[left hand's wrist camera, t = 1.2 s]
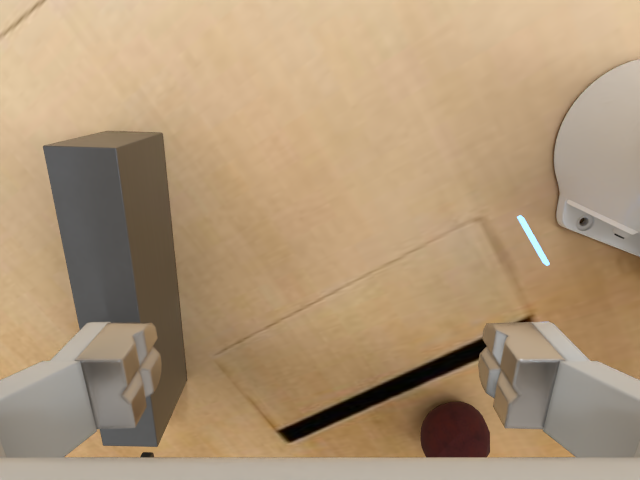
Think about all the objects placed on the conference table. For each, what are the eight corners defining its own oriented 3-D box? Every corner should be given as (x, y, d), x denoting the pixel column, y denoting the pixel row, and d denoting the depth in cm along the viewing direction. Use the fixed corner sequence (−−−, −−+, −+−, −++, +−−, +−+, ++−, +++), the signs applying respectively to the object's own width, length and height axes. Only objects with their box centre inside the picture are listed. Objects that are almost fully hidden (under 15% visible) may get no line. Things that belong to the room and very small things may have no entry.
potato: (402, 423, 50) (415, 475, 43) (441, 377, 48) (460, 425, 41) (451, 447, 51) (471, 500, 45) (491, 403, 49) (518, 454, 42)
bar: (106, 130, 38) (42, 145, 29) (162, 132, 38) (115, 148, 29) (142, 379, 48) (102, 445, 39) (187, 380, 48) (157, 447, 39)
